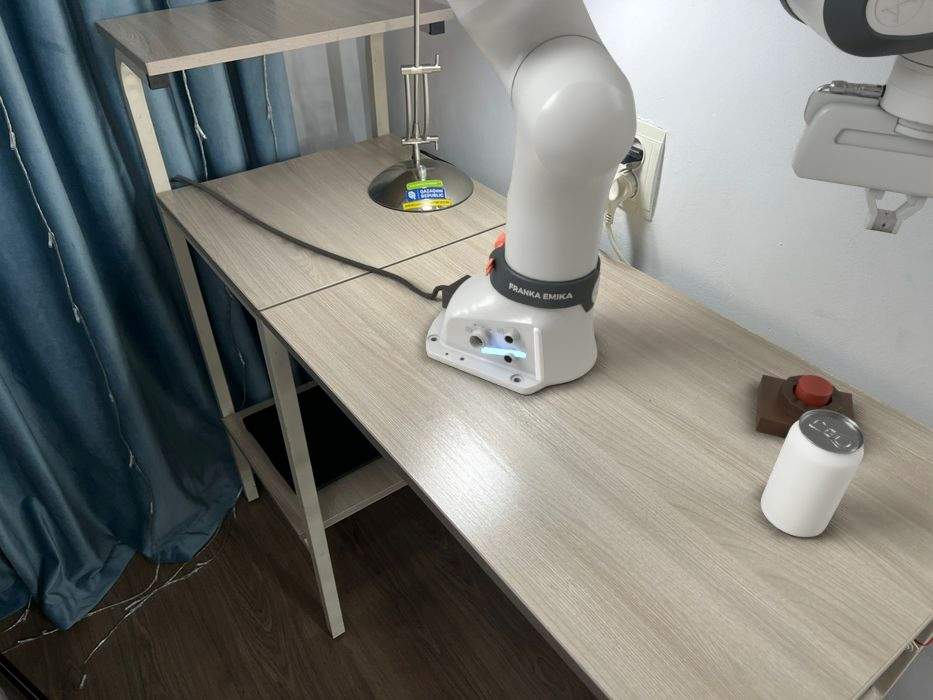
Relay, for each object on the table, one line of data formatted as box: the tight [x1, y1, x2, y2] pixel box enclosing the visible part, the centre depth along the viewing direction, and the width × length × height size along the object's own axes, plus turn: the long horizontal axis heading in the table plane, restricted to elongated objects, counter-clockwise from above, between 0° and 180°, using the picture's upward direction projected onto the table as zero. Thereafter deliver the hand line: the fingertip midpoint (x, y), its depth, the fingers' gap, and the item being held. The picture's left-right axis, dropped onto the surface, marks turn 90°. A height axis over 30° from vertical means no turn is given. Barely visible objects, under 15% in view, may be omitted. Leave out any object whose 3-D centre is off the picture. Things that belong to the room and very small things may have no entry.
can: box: [760, 409, 866, 538], centre depth 67 cm, size 6×6×12 cm
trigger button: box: [795, 374, 833, 407], centre depth 78 cm, size 4×4×2 cm
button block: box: [755, 374, 856, 439], centre depth 80 cm, size 10×8×4 cm
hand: (879, 229), depth 71 cm, fingers closed
